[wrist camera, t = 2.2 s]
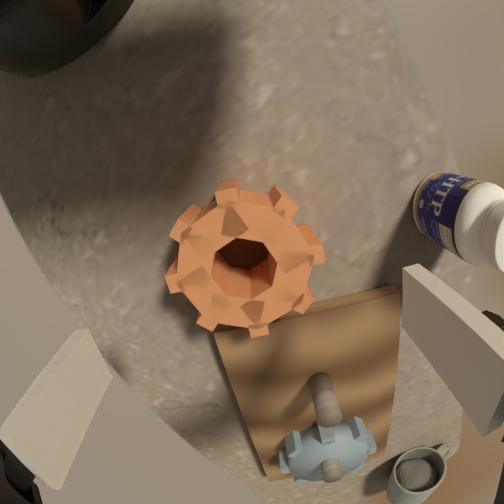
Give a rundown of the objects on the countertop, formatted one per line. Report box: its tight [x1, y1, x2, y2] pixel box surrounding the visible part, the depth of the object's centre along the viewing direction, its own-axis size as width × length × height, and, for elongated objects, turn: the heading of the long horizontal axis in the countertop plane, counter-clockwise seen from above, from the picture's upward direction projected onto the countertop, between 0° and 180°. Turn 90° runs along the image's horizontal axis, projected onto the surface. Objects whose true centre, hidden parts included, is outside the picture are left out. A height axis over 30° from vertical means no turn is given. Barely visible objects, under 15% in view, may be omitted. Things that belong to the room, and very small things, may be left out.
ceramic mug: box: [386, 444, 450, 504], centre depth 28 cm, size 11×8×8 cm
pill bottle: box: [413, 172, 504, 273], centre depth 16 cm, size 5×5×9 cm
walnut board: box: [213, 284, 401, 482], centre depth 23 cm, size 23×14×6 cm, turn 12°
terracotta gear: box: [165, 179, 325, 338], centre depth 19 cm, size 9×9×4 cm
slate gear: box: [279, 416, 377, 484], centre depth 25 cm, size 10×10×2 cm
